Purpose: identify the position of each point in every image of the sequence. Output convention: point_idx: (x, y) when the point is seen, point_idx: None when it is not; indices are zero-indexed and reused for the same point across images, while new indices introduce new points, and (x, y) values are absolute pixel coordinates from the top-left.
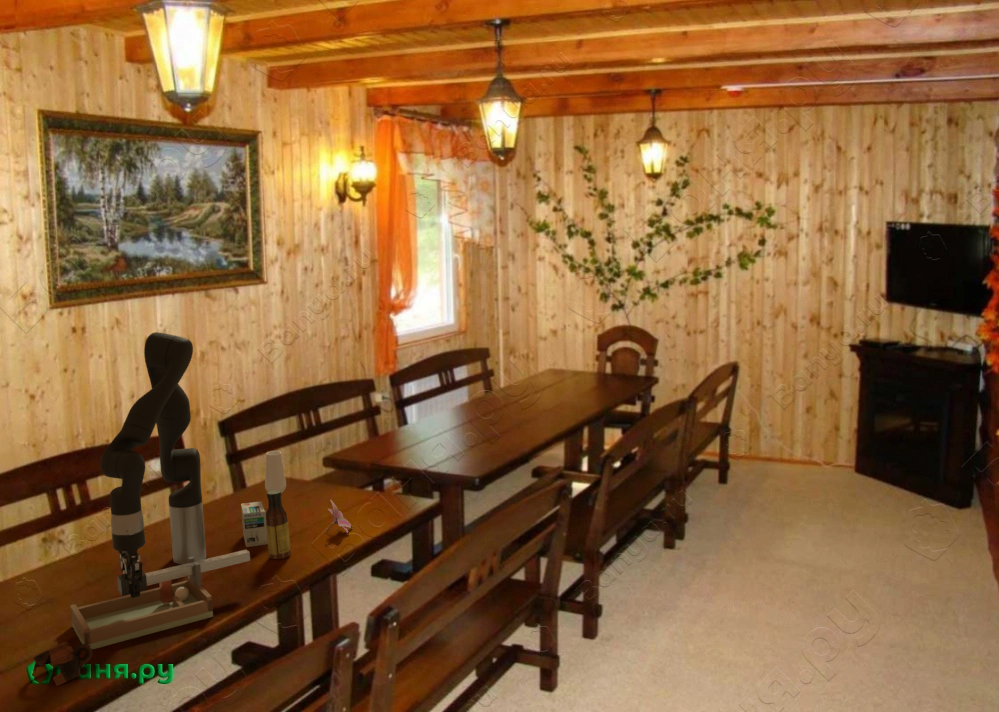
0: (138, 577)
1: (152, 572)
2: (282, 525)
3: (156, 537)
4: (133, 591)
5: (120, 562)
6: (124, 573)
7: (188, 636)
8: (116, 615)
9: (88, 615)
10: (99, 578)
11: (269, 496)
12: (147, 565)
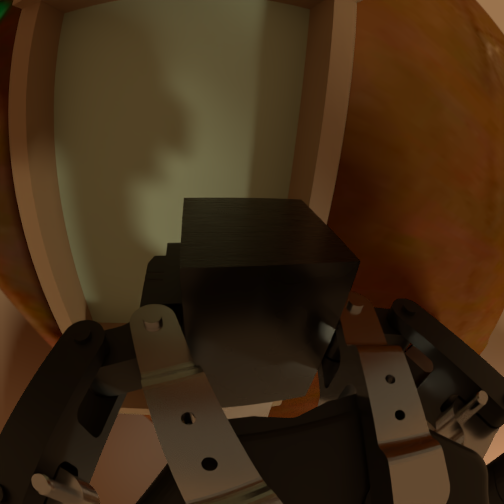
0: (106, 395)
1: (257, 409)
2: None
3: (490, 313)
4: (145, 279)
5: (456, 338)
6: (342, 320)
7: (20, 299)
8: (249, 141)
9: (311, 43)
10: (492, 209)
11: None
12: (460, 295)
